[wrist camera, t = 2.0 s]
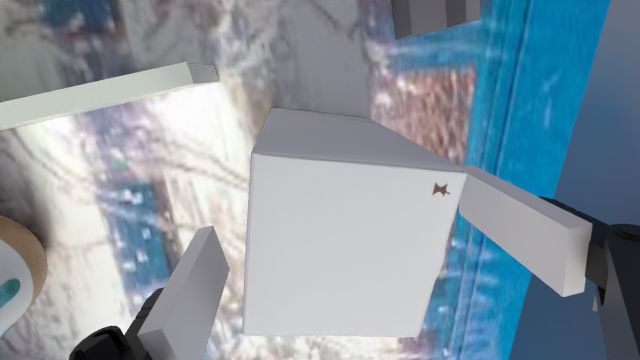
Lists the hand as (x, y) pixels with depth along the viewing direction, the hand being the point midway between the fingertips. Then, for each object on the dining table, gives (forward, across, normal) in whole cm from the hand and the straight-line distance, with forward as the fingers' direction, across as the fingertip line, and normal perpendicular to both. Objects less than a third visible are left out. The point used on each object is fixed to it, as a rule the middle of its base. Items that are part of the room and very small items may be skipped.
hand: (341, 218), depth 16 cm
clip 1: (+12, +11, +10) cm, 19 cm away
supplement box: (+12, 0, 0) cm, 12 cm away
